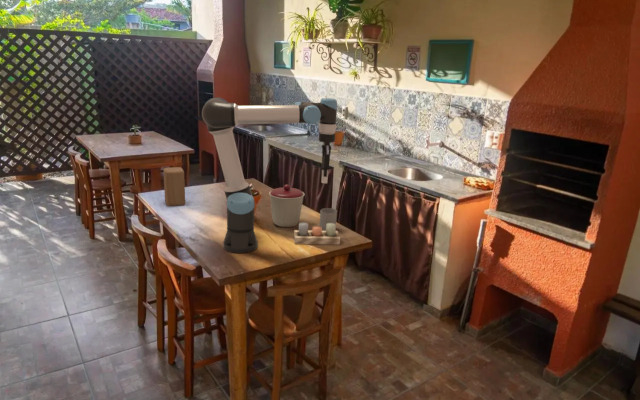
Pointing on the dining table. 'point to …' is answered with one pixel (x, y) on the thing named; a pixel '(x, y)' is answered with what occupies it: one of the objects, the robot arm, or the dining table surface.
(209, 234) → the dining table surface
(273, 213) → the canister
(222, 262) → the dining table surface
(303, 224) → the grey egg
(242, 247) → the robot arm
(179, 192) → the block
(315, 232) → the brown egg
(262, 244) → the dining table surface
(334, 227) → the pale green egg
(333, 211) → the cup
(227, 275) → the dining table surface
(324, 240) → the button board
